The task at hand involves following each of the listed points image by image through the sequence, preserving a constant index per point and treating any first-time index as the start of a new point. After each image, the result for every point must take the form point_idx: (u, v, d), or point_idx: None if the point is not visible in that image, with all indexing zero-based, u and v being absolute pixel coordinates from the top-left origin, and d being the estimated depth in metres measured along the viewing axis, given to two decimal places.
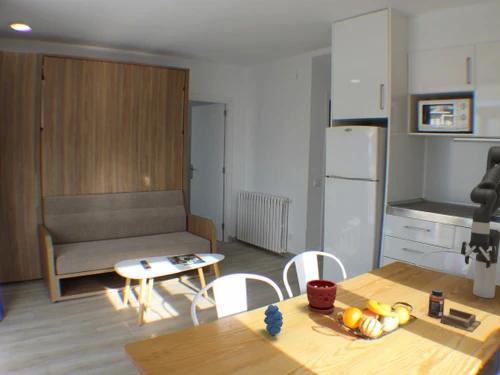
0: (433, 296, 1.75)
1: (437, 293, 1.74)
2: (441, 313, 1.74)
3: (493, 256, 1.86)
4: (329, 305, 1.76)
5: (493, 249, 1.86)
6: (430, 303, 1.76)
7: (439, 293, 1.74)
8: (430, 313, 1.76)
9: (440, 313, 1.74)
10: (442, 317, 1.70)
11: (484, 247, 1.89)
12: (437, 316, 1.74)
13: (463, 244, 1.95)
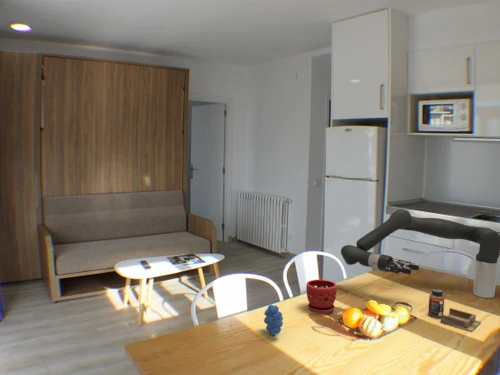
0: (433, 296, 1.75)
1: (437, 293, 1.74)
2: (441, 313, 1.74)
3: None
4: (329, 305, 1.76)
5: None
6: (430, 303, 1.76)
7: (439, 293, 1.74)
8: (430, 313, 1.76)
9: (440, 313, 1.74)
10: (442, 317, 1.70)
11: None
12: (437, 316, 1.74)
13: None
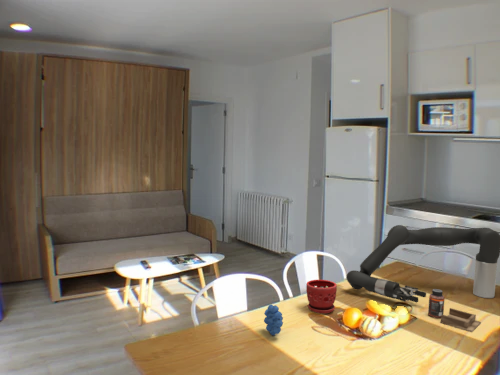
0: (433, 296, 1.75)
1: (437, 293, 1.74)
2: (441, 313, 1.74)
3: None
4: (329, 305, 1.76)
5: None
6: (430, 303, 1.76)
7: (439, 293, 1.74)
8: (430, 313, 1.76)
9: (440, 313, 1.74)
10: (442, 317, 1.70)
11: None
12: (437, 316, 1.74)
13: None
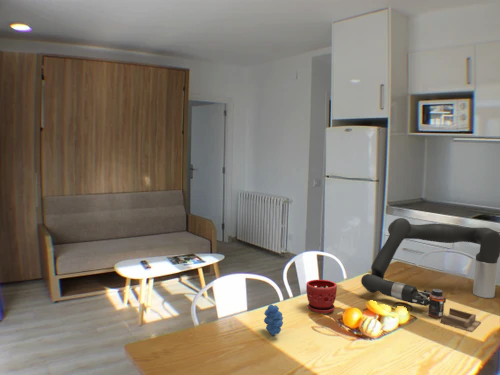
0: (433, 296, 1.75)
1: (437, 293, 1.74)
2: (441, 313, 1.74)
3: None
4: (329, 305, 1.76)
5: None
6: None
7: (439, 293, 1.74)
8: (430, 313, 1.76)
9: (440, 313, 1.74)
10: (442, 317, 1.70)
11: None
12: (437, 316, 1.74)
13: None
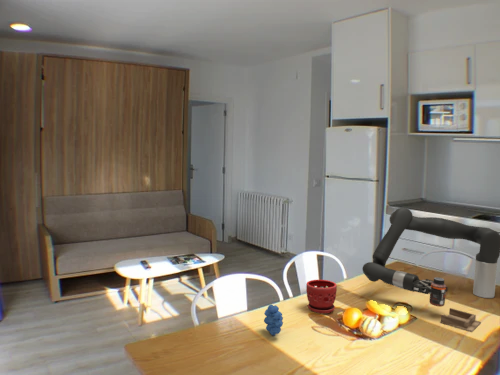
0: (435, 284, 1.74)
1: (438, 281, 1.73)
2: (442, 301, 1.73)
3: None
4: (329, 305, 1.76)
5: None
6: None
7: (441, 281, 1.73)
8: (431, 301, 1.75)
9: (441, 302, 1.73)
10: (442, 317, 1.70)
11: None
12: (438, 304, 1.73)
13: None
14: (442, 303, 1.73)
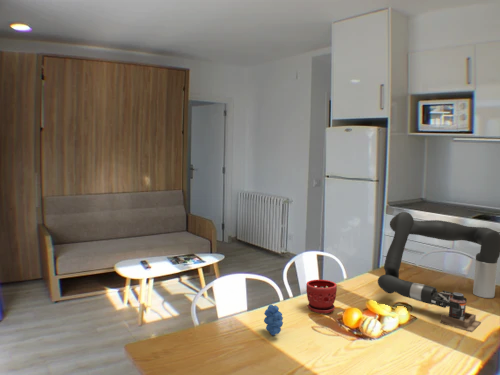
0: (454, 300, 1.69)
1: (458, 297, 1.68)
2: (462, 318, 1.68)
3: None
4: (329, 305, 1.76)
5: None
6: (451, 307, 1.70)
7: (460, 297, 1.68)
8: None
9: (461, 318, 1.68)
10: (442, 317, 1.70)
11: None
12: None
13: None
14: (462, 319, 1.68)
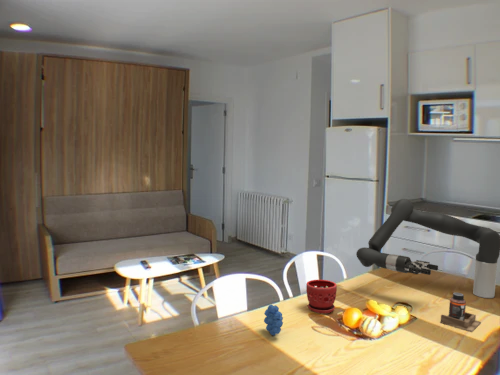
0: (454, 300, 1.69)
1: (458, 297, 1.68)
2: (462, 318, 1.68)
3: None
4: (329, 305, 1.76)
5: None
6: (451, 307, 1.70)
7: (460, 297, 1.68)
8: None
9: (461, 318, 1.68)
10: (442, 317, 1.70)
11: None
12: None
13: None
14: (462, 319, 1.68)
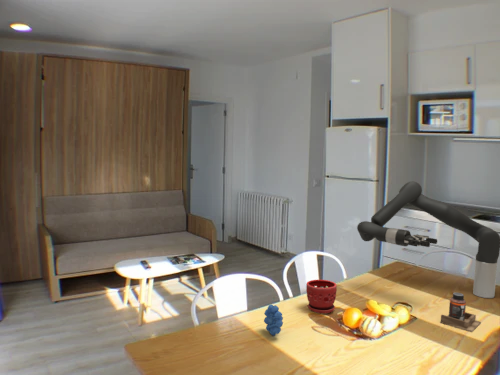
0: (454, 300, 1.69)
1: (458, 297, 1.68)
2: (462, 318, 1.68)
3: None
4: (329, 305, 1.76)
5: None
6: (451, 307, 1.70)
7: (460, 297, 1.68)
8: None
9: (461, 318, 1.68)
10: (442, 317, 1.70)
11: None
12: None
13: None
14: (462, 319, 1.68)
